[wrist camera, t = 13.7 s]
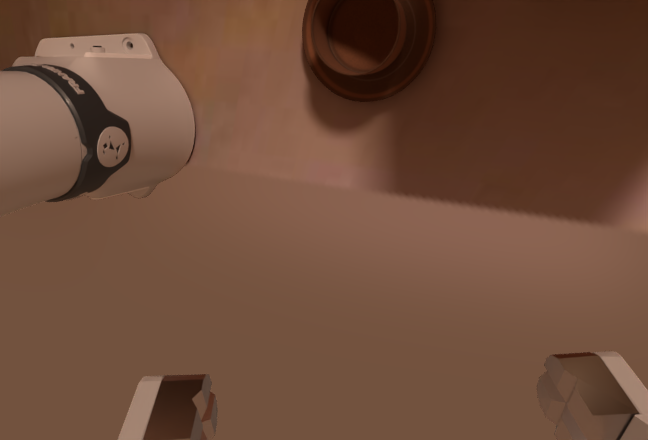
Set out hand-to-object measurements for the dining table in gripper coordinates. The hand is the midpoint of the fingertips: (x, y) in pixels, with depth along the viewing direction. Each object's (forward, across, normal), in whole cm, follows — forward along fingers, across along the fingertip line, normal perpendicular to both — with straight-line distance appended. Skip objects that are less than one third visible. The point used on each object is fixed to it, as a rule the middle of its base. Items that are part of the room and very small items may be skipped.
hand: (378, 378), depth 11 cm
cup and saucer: (+36, +4, +1) cm, 37 cm away
